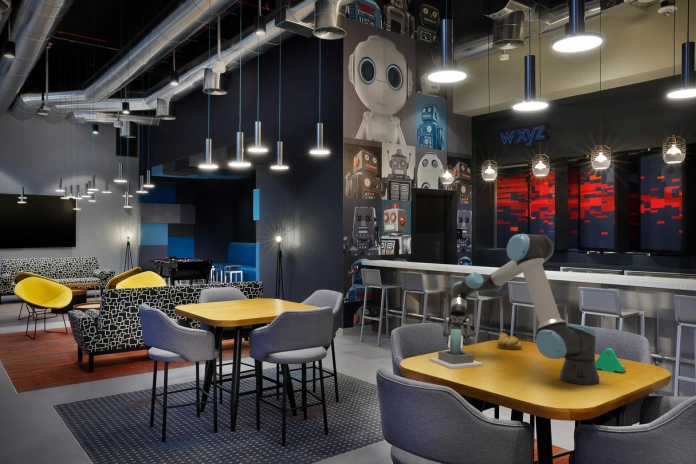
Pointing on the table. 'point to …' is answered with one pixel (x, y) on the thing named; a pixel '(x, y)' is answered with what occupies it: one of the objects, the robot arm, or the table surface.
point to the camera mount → (609, 362)
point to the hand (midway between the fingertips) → (455, 348)
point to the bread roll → (508, 342)
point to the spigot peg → (455, 342)
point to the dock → (454, 366)
